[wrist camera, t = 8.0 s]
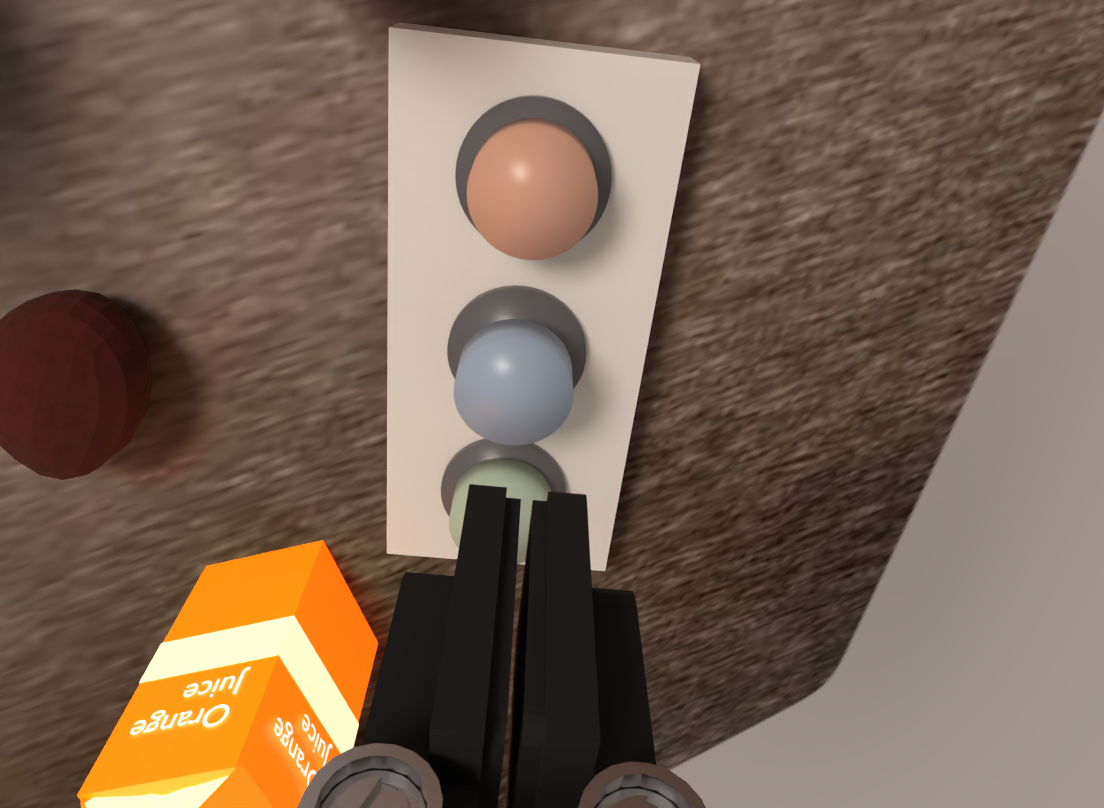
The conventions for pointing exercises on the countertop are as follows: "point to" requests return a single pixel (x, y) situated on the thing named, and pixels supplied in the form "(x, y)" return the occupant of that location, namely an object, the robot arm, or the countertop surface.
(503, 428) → the slate button
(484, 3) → the countertop surface
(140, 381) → the potato
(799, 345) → the countertop surface
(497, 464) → the sage button
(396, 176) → the button panel
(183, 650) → the orange juice
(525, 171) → the terracotta button
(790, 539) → the countertop surface
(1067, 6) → the countertop surface
